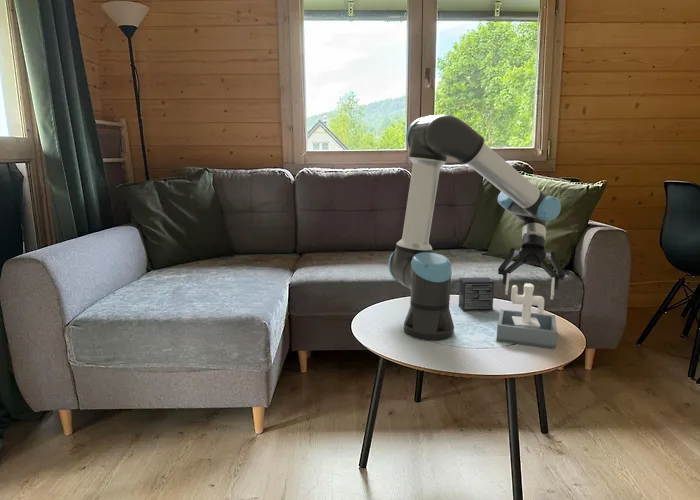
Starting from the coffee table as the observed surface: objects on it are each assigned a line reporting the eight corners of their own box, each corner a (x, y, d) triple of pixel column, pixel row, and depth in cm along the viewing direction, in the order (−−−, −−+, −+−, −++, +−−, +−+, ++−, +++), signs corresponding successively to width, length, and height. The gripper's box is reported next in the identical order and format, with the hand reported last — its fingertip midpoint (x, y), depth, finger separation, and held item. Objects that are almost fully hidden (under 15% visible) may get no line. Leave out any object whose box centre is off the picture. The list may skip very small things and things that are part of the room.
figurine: (543, 338, 146) (548, 288, 143) (509, 335, 148) (513, 286, 145) (539, 329, 153) (543, 282, 150) (507, 327, 155) (510, 280, 152)
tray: (496, 341, 146) (497, 325, 145) (499, 324, 160) (500, 309, 159) (555, 349, 141) (557, 332, 140) (553, 330, 155) (554, 315, 154)
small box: (486, 305, 179) (488, 276, 177) (493, 311, 173) (495, 281, 170) (457, 305, 178) (459, 276, 176) (462, 311, 172) (464, 281, 170)
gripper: (572, 248, 167) (570, 305, 157) (494, 243, 176) (488, 296, 165) (575, 235, 161) (573, 293, 151) (494, 230, 170) (487, 285, 159)
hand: (529, 295), depth 158 cm, fingers open, 13 cm apart
